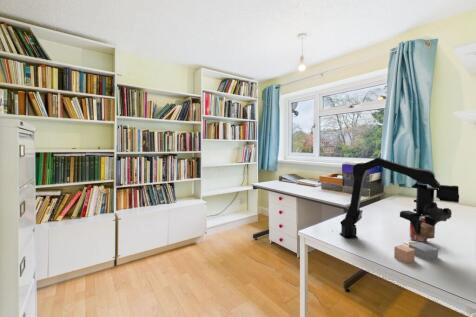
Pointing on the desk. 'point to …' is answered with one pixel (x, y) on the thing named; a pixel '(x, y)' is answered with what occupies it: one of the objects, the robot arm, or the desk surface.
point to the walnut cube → (426, 231)
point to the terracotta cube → (404, 253)
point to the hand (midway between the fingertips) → (423, 233)
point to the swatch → (411, 242)
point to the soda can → (415, 235)
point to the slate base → (424, 251)
